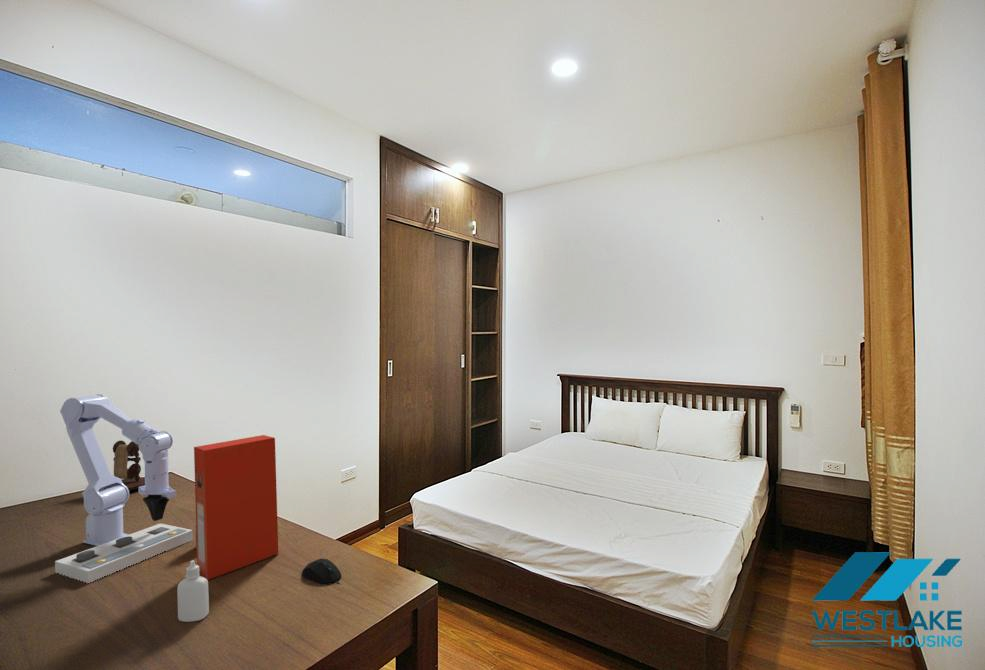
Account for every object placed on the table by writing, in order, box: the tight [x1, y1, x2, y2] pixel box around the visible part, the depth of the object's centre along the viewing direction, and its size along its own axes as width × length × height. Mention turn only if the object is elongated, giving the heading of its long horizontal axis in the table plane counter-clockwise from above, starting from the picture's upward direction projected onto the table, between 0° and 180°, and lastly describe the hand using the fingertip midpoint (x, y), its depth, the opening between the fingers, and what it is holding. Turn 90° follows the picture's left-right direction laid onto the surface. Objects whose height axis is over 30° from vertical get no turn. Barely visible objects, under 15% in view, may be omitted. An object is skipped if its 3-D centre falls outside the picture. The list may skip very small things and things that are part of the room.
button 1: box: [76, 549, 95, 563], centre depth 122 cm, size 4×4×2 cm
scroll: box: [103, 440, 145, 491], centre depth 189 cm, size 15×15×20 cm
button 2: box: [151, 528, 165, 535], centre depth 139 cm, size 4×4×2 cm
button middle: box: [116, 536, 132, 548], centre depth 131 cm, size 4×4×2 cm
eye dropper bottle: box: [176, 560, 210, 623], centre depth 99 cm, size 4×6×12 cm
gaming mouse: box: [301, 558, 342, 586], centre depth 115 cm, size 6×15×4 cm, turn 53°
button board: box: [54, 523, 194, 584], centre depth 130 cm, size 15×26×3 cm, turn 157°
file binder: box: [193, 434, 279, 580], centre depth 124 cm, size 8×17×32 cm, turn 139°
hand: (157, 519), depth 139 cm, fingers closed
